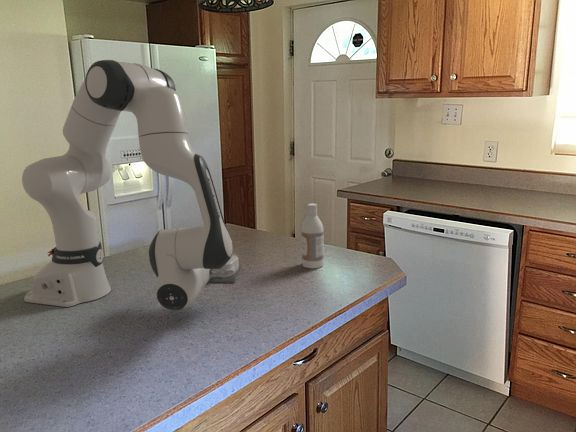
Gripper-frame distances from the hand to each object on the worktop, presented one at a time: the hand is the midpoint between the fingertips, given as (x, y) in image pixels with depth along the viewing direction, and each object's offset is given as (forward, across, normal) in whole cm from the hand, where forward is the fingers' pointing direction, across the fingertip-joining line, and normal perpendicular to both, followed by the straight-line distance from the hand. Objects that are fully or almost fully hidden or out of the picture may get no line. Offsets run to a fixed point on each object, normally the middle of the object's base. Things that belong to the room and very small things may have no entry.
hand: (206, 255), depth 137 cm
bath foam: (+22, -28, +11) cm, 37 cm away
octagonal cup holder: (+12, 0, +10) cm, 16 cm away
